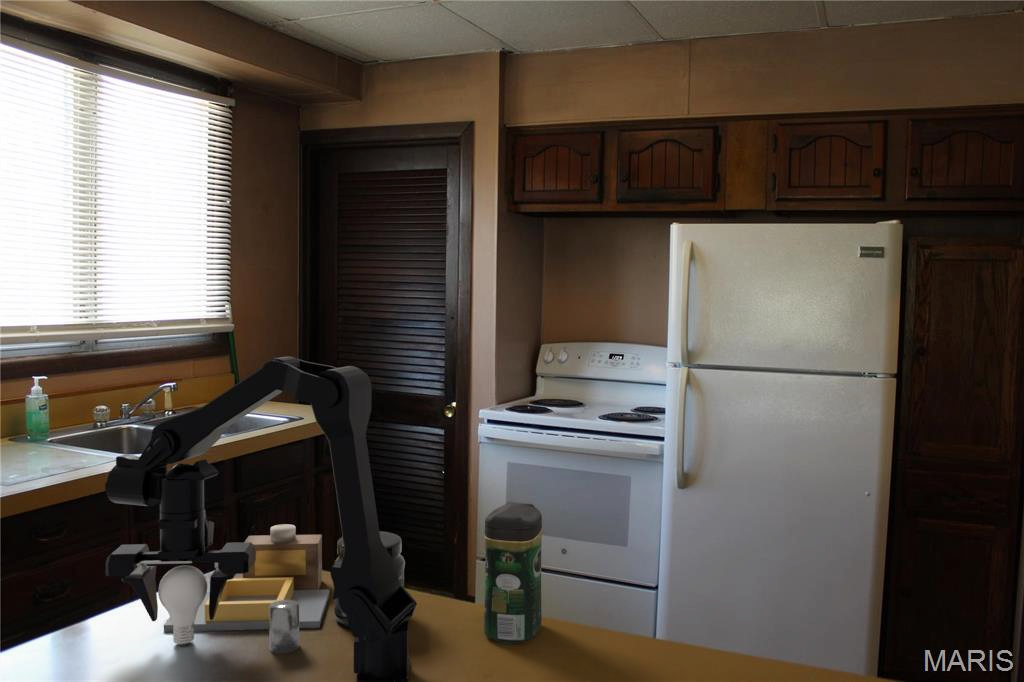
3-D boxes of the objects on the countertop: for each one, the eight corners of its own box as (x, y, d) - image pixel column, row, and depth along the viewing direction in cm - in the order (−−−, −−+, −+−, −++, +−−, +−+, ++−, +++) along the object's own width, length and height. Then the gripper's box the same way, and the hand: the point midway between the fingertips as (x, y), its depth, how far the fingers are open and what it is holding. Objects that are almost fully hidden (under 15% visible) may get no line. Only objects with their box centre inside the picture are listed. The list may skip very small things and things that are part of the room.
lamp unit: (321, 581, 145) (321, 522, 144) (317, 592, 139) (317, 532, 139) (249, 582, 144) (248, 523, 143) (242, 594, 138) (241, 533, 138)
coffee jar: (494, 616, 130) (496, 496, 129) (545, 622, 128) (547, 500, 127) (476, 642, 121) (477, 513, 120) (531, 649, 119) (533, 517, 118)
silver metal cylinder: (301, 641, 120) (301, 599, 120) (296, 653, 117) (296, 610, 116) (272, 642, 120) (271, 600, 120) (266, 654, 116) (266, 610, 116)
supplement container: (387, 635, 123) (388, 553, 122) (321, 626, 126) (321, 546, 125) (414, 608, 133) (415, 533, 132) (352, 601, 136) (352, 527, 135)
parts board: (329, 595, 138) (329, 574, 138) (319, 627, 125) (319, 604, 125) (188, 598, 136) (188, 577, 136) (163, 631, 123) (163, 608, 123)
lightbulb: (191, 656, 115) (190, 576, 114) (149, 651, 116) (148, 572, 116) (216, 637, 121) (216, 561, 121) (176, 633, 123) (175, 557, 122)
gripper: (262, 493, 127) (263, 596, 128) (131, 495, 125) (133, 600, 126) (247, 513, 116) (248, 626, 117) (103, 515, 114) (105, 630, 115)
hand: (183, 619), depth 119 cm, fingers open, 7 cm apart
